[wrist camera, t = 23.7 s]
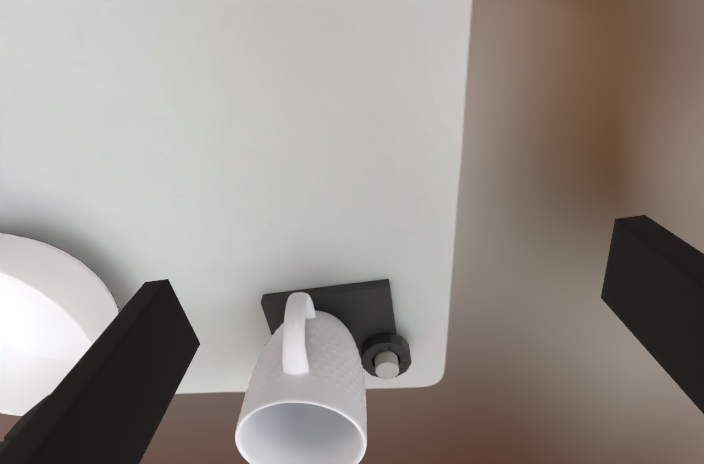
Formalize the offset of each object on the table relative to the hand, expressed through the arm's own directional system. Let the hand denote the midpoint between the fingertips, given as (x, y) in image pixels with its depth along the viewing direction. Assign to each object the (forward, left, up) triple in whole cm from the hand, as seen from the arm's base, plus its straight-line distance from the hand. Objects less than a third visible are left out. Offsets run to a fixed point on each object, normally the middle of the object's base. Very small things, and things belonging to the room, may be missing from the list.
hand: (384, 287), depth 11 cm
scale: (+7, +23, -24) cm, 34 cm away
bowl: (+37, +13, -24) cm, 46 cm away
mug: (+9, +21, -23) cm, 32 cm away
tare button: (+1, +26, -21) cm, 34 cm away
